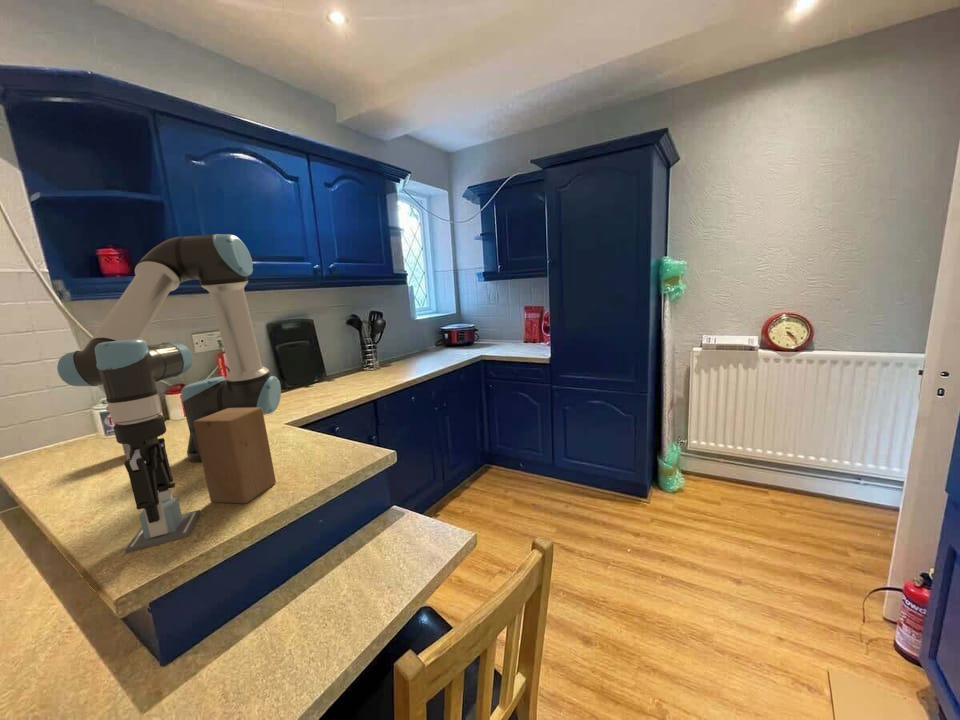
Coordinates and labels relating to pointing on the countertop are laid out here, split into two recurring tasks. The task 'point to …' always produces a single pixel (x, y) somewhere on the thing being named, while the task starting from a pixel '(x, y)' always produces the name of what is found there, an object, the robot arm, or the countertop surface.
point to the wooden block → (235, 454)
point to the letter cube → (171, 515)
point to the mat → (181, 532)
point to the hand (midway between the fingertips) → (164, 526)
